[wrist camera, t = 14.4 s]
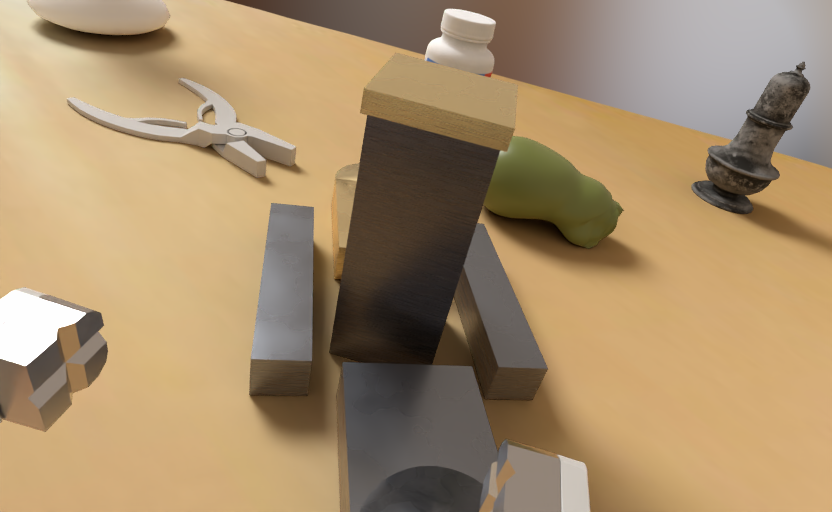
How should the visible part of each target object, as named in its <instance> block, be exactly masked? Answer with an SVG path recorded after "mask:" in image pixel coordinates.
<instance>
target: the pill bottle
mask: <svg viewBox="0 0 832 512" xmlns="http://www.w3.org/2000/svg"><path fill="white" fill-rule="evenodd" d="M495 25H496V22H495V21H494V20H492V19H491V18H488V17H485V16H483V15H480V14H477V13H473V12H469V11H465V10H459V9H446V10H445V11H444V15H443V19H442V23H441V31H442V32H443V34H442V36H441V37H440V38H436V39H434V40H432V41H431V42H430V43H429V45H428V47H427V51H426V55H425V61H429V62H433V63H437V64H441V65H444V66H448V67H452V68H456V69H460V70H463V71H467V72H471V73H475V74H478V75H482V76H486V77H491V74H492V70H493V66H494V57H493V55H492V53H491V52H490V51H489V50H488V49H487V43H490V42H491V39H492V38H493V33H494V28H495Z"/></svg>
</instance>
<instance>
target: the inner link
mask: <svg viewBox="0 0 832 512" xmlns="http://www.w3.org/2000/svg"><path fill="white" fill-rule="evenodd" d="M359 164H360V163H359ZM359 164H352V165H348V166H345V167H343V168H341V169H340V170H339V171H338V172H337V174H336V177H335V185H334V192H333V199H332V230H333V256H334V279H341V276H342V270H343V264H344V258H345V251H346V245H347V239H348V233H349V227H350V220H351V214H352V208H353V202H354V195H355V189H356V183H357V177H358V170H359Z"/></svg>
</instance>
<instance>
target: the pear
mask: <svg viewBox="0 0 832 512" xmlns="http://www.w3.org/2000/svg"><path fill="white" fill-rule="evenodd" d="M483 205H484V206H485V207H486V208H487V209H489V210H490V211H492V212H493V213H495V214H497V215H500V216H504V217H509V218H519V219H541V220H546V221H549V222H552V223H553V224H555V225H556V226H557V227H558V228H559V230H560V231H561V232H562V234H563V235H564V236H565V237H566V238H567V239H568V240H569V241H570V242H572V243H573V244H575V245H579V246H582V247H585V248H588V249H589V248H591V247H593V246H596V245H597V244H598V242H599V241H600V240H601V239H603V238H605V237H606V236H608V235H609V234H611V233H612V232H613V231H614V229H615V228H616V225H617V220H618V216H620V215H619V214H621V213H622V211H624V210H623V209H622V207H621V206H620V205H619V203H618V202H616V201H614V200H613V199H612V195H611V193H610V192H609V191H608V190H607V189H606V187H605V186H604V185H603V184H602V183H600V182H599V181H597V180H595V179H593V178H590V177H587V176H585V175H583V174H581V173H580V172H579V171H578V170H577V169H576V168H575V167H574V166H573V165H572V164H571V163H570V162H569V161H568V160H567V159H565V158H564V157H563V156H561V155H560V154H558V153H557V152H555V151H553V150H552V149H550V148H548V147H546V146H544V145H542V144H540V143H538V142H536V141H534V140H531V139H528V138H525V137H518V136H512V139H511V142H510V145H509V148H508V151H507V152H504V151H501V150H500V153H499V157H498V160H497V163H496V166H495V169H494V172H493V175H492V178H491V182H490V185H489V188H488V191H487V194H486V197H485V200H484V203H483Z"/></svg>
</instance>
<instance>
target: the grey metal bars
mask: <svg viewBox="0 0 832 512" xmlns="http://www.w3.org/2000/svg"><path fill="white" fill-rule="evenodd" d="M313 228H314V207H307V206H297V205H287V204H277V203H271V209H270V217H269V225H268V232H267V240H266V248H265V255H264V263H263V270H262V278H261V286H260V293H259V301H258V309H257V316H256V324H255V331H254V339H253V347H252V354H251V368H250V391H249V395H284V396H307V394H308V387H309V380H310V372H311V365H312V318H313ZM454 298H455V302H456V305H457V308H458V311H459V315H460V318H461V321H462V324H463V328H464V331H465V334H466V338H467V341H468V344H469V347H470V351H471V354H472V357H473V361H474V364H475V367H476V370H477V374H478V377H479V380H480V384H481V387H482V390H483V393H484V397H485V399H512V400H533V398H534V396H535V394H536V392H537V390H538V388H539V386H540V384H541V382H542V380H543V378H544V376H545V374H546V372H547V370H548V368H547V365H546V363H545V361H544V359H543V356H542V354H541V352H540V350H539V347H538V345H537V343H536V341H535V338H534V336H533V334H532V332H531V329H530V327H529V325H528V323H527V320H526V318H525V316H524V314H523V311H522V309H521V307H520V305H519V302H518V300H517V298H516V296H515V293H514V291H513V289H512V287H511V284H510V282H509V280H508V278H507V275H506V273H505V271H504V268H503V266H502V264H501V262H500V259H499V257H498V255H497V253H496V250H495V248H494V246H493V244H492V241H491V239H490V237H489V235H488V232H487V230H486V228H485V226H484V224H479V223H477V225H476V228H475V232H474V235H473V238H472V241H471V244H470V247H469V250H468V253H467V257H466V260H465V263H464V266H463V269H462V272H461V275H460V278H459V282H458V285H457V288H456V291H455V294H454ZM336 398H337V427H338V456H339V486H340V512H479V507H480V499H481V494H482V488H483V485H484V481H485V478H486V475H487V472H488V470H489V468H490V466H491V464H492V463H494V462H497V461H498V451H497V448H496V445H495V441H494V438H493V435H492V431H491V428H490V425H489V421H488V418H487V415H486V411H485V408H484V404H483V401H482V398H481V394H480V391H479V388H478V384H477V381H476V378H475V374H474V371H473V368H472V366H449V365H418V364H388V363H357V362H343V363H342V369H341V374H340V380H339V385H338V391H337V396H336Z"/></svg>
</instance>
